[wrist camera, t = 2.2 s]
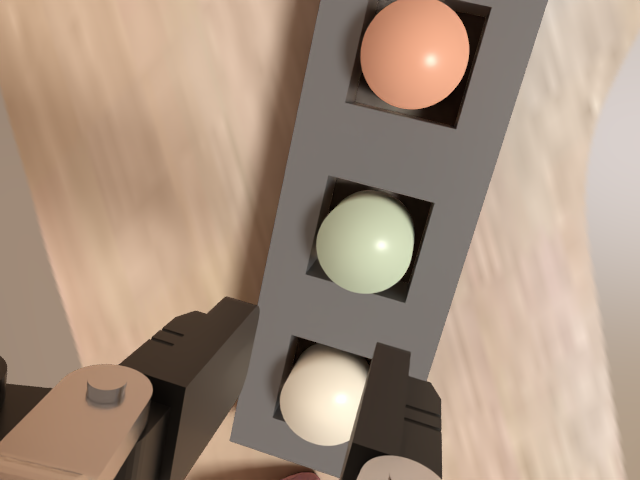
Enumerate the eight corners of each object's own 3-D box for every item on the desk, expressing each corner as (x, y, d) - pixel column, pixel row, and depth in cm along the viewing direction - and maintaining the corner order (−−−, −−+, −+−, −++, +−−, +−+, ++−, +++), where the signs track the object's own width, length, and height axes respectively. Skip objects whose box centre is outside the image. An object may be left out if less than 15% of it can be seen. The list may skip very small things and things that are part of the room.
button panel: (394, 459, 27) (390, 495, 24) (247, 411, 28) (229, 441, 25) (547, -27, 20) (561, -44, 18) (349, -66, 21) (338, -87, 19)
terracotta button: (449, 117, 21) (451, 120, 19) (358, 96, 21) (349, 96, 19) (478, 19, 20) (483, 8, 18) (382, -2, 20) (375, -14, 18)
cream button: (361, 424, 25) (354, 456, 23) (286, 400, 25) (272, 429, 23) (381, 355, 24) (375, 382, 22) (303, 331, 24) (289, 355, 22)
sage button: (402, 284, 23) (398, 305, 21) (320, 261, 23) (307, 278, 21) (425, 202, 22) (424, 214, 20) (339, 180, 22) (328, 189, 20)
